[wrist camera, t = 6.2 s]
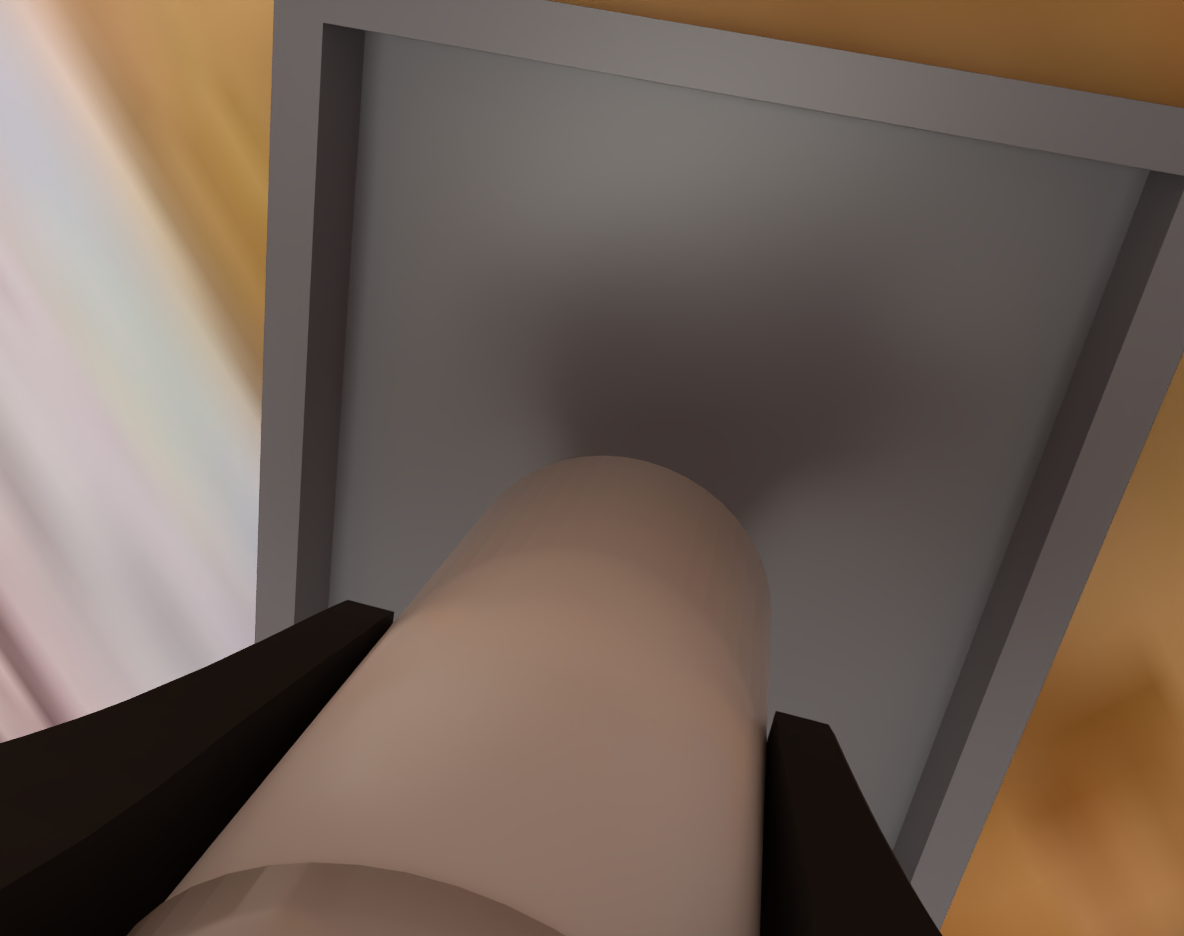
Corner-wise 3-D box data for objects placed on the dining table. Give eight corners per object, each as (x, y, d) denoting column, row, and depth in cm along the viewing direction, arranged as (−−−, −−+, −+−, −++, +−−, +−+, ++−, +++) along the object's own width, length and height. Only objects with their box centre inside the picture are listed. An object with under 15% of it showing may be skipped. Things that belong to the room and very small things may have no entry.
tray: (1202, 122, 14) (1279, 124, 12) (901, 892, 20) (914, 990, 18) (349, -23, 16) (275, -46, 14) (306, 725, 22) (250, 795, 20)
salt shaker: (816, 503, 13) (875, 1255, 4) (726, 778, 14) (635, 1718, 6) (486, 414, 13) (-73, 916, 5) (437, 691, 15) (-37, 1432, 6)
